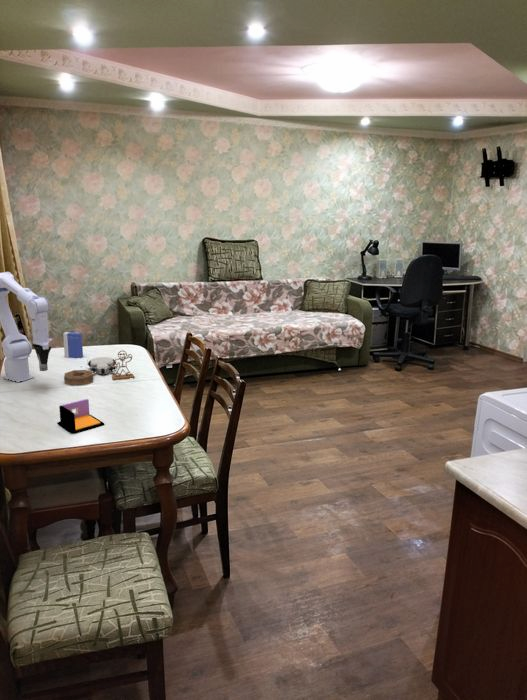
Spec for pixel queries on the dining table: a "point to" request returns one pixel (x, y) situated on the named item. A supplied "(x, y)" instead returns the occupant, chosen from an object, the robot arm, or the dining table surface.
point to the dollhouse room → (77, 417)
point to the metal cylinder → (42, 366)
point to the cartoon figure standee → (126, 375)
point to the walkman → (73, 345)
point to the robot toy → (102, 365)
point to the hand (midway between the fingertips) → (43, 362)
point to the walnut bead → (78, 377)
